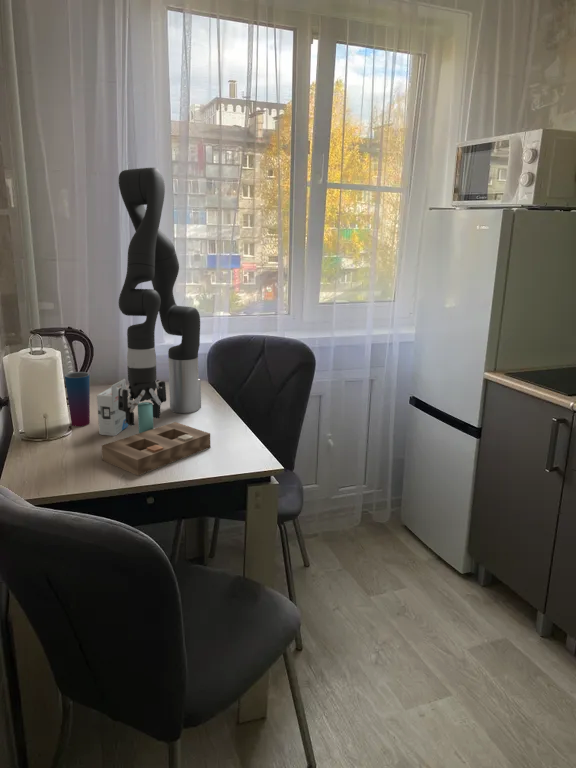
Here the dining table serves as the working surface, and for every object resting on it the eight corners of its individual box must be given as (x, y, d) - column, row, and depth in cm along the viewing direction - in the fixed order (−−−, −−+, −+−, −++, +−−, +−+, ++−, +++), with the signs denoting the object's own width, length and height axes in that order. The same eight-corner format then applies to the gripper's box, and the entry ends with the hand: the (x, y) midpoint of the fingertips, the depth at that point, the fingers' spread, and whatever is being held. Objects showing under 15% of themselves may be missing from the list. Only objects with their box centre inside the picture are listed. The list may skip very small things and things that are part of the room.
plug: (147, 435, 163) (146, 401, 160) (156, 438, 161) (155, 404, 158) (136, 438, 160) (134, 404, 157) (145, 442, 158) (143, 407, 155)
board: (175, 435, 163) (175, 420, 162) (210, 447, 155) (210, 431, 154) (102, 460, 145) (101, 443, 144) (138, 475, 137) (137, 457, 136)
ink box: (113, 425, 170) (110, 376, 166) (128, 426, 169) (126, 378, 166) (98, 434, 162) (95, 384, 158) (114, 436, 161) (111, 385, 157)
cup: (70, 428, 166) (66, 378, 162) (66, 421, 172) (63, 373, 168) (94, 425, 169) (91, 376, 165) (90, 418, 175) (87, 371, 171)
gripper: (154, 358, 162) (155, 413, 166) (110, 365, 151) (113, 424, 156) (171, 362, 158) (172, 418, 162) (128, 370, 147) (130, 430, 151)
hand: (143, 421), depth 159 cm, fingers open, 8 cm apart
